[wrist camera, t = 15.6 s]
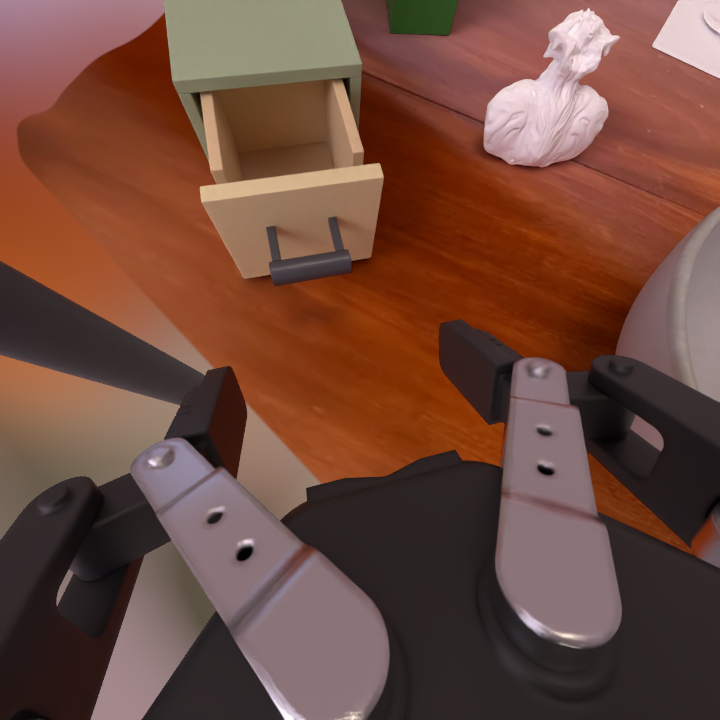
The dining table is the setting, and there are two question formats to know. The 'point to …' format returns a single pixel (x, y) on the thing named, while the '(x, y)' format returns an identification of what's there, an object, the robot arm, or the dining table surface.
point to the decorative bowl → (680, 318)
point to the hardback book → (421, 16)
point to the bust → (553, 99)
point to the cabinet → (258, 48)
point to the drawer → (289, 180)
